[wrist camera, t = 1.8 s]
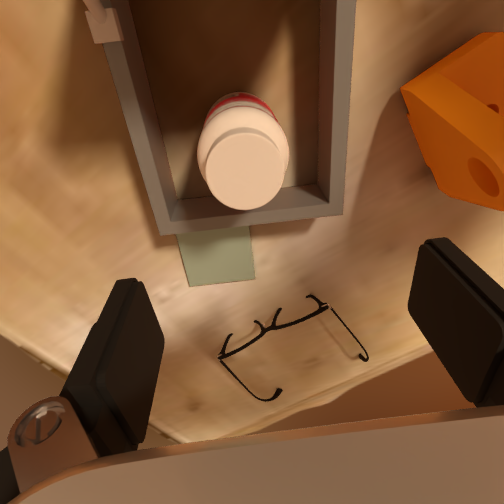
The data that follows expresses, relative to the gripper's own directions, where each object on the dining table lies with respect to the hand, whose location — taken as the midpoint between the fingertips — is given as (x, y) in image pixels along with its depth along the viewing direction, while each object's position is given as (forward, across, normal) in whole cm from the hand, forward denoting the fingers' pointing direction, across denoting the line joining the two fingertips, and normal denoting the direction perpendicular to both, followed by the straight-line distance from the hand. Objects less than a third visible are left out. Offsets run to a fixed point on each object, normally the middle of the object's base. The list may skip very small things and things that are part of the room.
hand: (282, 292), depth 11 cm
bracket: (+21, -18, 0) cm, 28 cm away
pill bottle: (+21, +1, -1) cm, 21 cm away
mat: (+21, +5, +12) cm, 24 cm away
